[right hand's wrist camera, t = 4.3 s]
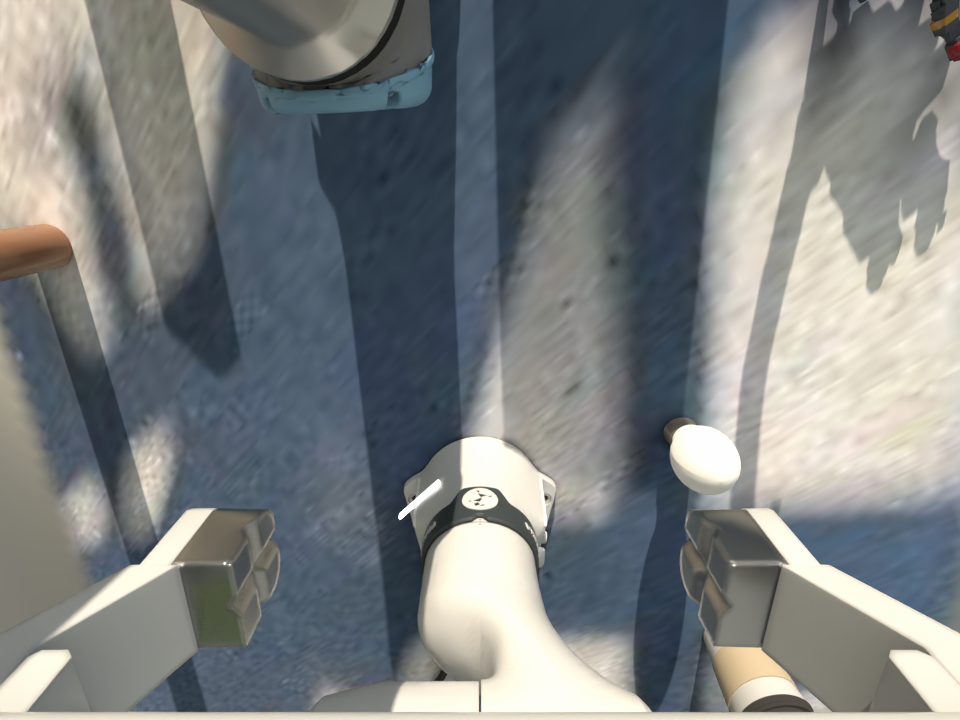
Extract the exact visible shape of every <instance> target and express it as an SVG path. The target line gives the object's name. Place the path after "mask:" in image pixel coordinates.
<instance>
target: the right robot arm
mask: <svg viewBox="0 0 960 720" xmlns="http://www.w3.org/2000/svg"><path fill="white" fill-rule="evenodd" d="M404 495H405V498H406V501H407V505H408V506H407V507H406V508H405V509H404V510H403V511H402V512H400V513H399V519H400V520H401V519H402V518H403V517H404V516H405V515H406V514H407V513H409V512H410V515H411V519H412V522H413V527H414V529H415V533H416V536H417V539H418V543H419V546H420V550H421V569H422V574H423V580H422V587H421V594H420V602H419V609H418V617H417V622H418V630H419V634H420V637H421V640H422V642H423V644H424V646H425V648H426V649H427V651H428V653H429V654H430V656H431V657H432V659H433V660H434V662H435V663H436V664H437V665H438V666H439V667H440V668H441V669H442V670H441V672H440V674H439V675H438V677H437V678H436V680H435V681H387V682H382V683H377V684H372V685H367V686H362V687H358V688H354V689H350V690H346V691H342V692H338V693H334V694H330V695H326V696H324V697H323V698H322V699H320V700H319V701H318V702H317V703H316V704H315V705H314V706H313V708H312V709H311V710H310V711H309V712H128V711H129V710H130V709H131V708H132V707H134V706H135V705H136V704H137V703H138V702H139V701H141V700H142V699H143V698H144V697H145V696H146V695H148V694H149V693H150V692H151V691H152V690H153V689H154V688H156V687H157V686H158V685H159V684H160V683H161V682H163V681H164V680H165V679H166V678H167V677H168V676H169V675H171V674H172V673H173V672H174V671H175V670H176V669H178V668H179V667H180V666H181V665H182V664H183V663H185V662H186V661H187V660H188V659H189V658H190V657H191V656H193V655H194V654H195V653H196V652H197V651H198V650H199V649H198V648H207V647H240V646H247V645H248V643H249V641H250V639H251V637H252V635H253V633H254V631H255V629H256V627H257V625H258V622H259V620H260V618H261V610H260V605H261V604H262V603H264V602H265V601H266V600H268V599H269V598H270V597H271V596H272V594H273V591H274V589H275V587H276V585H277V580H278V575H279V571H280V553H279V547H278V546H277V545H276V544H275V543H274V542H273V541H272V539H271V538H270V537H271V535H272V533H273V531H274V529H275V523H274V518H273V513H272V512H270V511H269V510H268V509H228V508H218V509H216V508H193V509H190V510H187V511H186V512H185V513H184V514H183V515H182V516H181V517H180V519H179V520H178V521H177V522H176V523H175V524H174V525H173V527H172V528H171V529H170V530H169V531H168V532H167V534H166V535H165V536H164V537H163V538H162V539H161V541H160V542H159V543H158V544H157V545H156V546H155V548H154V549H153V550H152V551H151V552H150V553H149V554H148V556H147V557H146V558H145V559H144V560H143V561H142V563H141V564H140V565H130V566H128V567H126V568H124V569H122V570H120V571H119V572H117V573H115V574H113V575H111V576H109V577H107V578H105V579H103V580H101V581H99V582H98V583H96V584H94V585H92V586H90V587H88V588H86V589H84V590H82V591H80V592H78V593H76V594H75V595H73V596H71V597H69V598H67V599H65V600H63V601H61V602H59V603H57V604H56V605H54V606H52V607H50V608H48V609H46V610H44V611H42V612H40V613H38V614H36V615H35V616H33V617H31V618H29V619H27V620H25V621H23V622H21V623H19V624H17V625H15V626H14V627H12V628H10V629H8V630H6V631H4V632H2V633H0V720H960V633H958V632H956V631H954V630H952V629H950V628H948V627H946V626H944V625H942V624H941V623H939V622H937V621H935V620H933V619H931V618H929V617H927V616H925V615H923V614H921V613H920V612H918V611H916V610H914V609H912V608H910V607H908V606H906V605H904V604H902V603H901V602H899V601H897V600H895V599H893V598H891V597H889V596H887V595H885V594H883V593H881V592H880V591H878V590H876V589H874V588H872V587H870V586H868V585H866V584H864V583H862V582H860V581H859V580H857V579H855V578H853V577H851V576H849V575H847V574H845V573H843V572H841V571H840V570H838V569H836V568H834V567H832V566H830V565H820V564H819V563H818V561H817V560H816V559H815V558H814V557H813V556H812V554H811V553H810V552H809V551H808V550H807V549H806V548H805V546H804V545H803V544H802V543H801V542H800V541H799V539H798V538H797V537H796V536H795V535H794V534H793V532H792V531H791V530H790V529H789V528H788V527H787V526H786V524H785V523H784V522H783V521H782V520H781V519H780V517H779V516H778V515H777V514H776V513H775V512H774V511H773V510H771V509H769V508H748V509H736V510H690V511H689V513H688V515H687V517H686V522H685V529H686V531H687V533H688V535H689V537H690V538H689V539H688V541H687V542H686V543H685V544H684V545H683V546H682V547H681V555H680V569H681V577H682V580H683V584H684V587H685V589H686V591H687V594H688V596H689V597H690V598H691V599H692V600H694V601H695V602H696V603H698V604H699V605H700V610H699V618H700V620H701V622H702V624H703V627H704V629H705V631H706V633H707V635H708V637H709V639H710V641H711V643H712V645H713V646H718V647H753V648H762V649H761V650H762V651H763V652H764V653H765V654H766V655H768V656H769V657H770V658H771V659H772V660H773V661H775V662H776V663H777V664H778V665H779V666H780V667H781V668H783V669H784V670H785V671H786V672H787V673H788V674H790V675H791V676H792V677H793V678H794V679H795V680H796V681H798V682H799V683H800V684H801V685H802V686H803V687H805V688H806V689H807V690H808V691H809V692H810V693H812V694H813V695H814V696H815V697H816V698H817V699H818V700H820V701H821V702H822V703H823V704H824V705H825V706H827V707H828V708H829V709H830V710H831V711H832V712H652V711H651V710H650V708H649V707H648V706H647V705H646V704H645V703H644V702H643V701H642V700H641V699H640V698H639V697H638V696H637V695H635V694H633V693H631V692H629V691H627V690H626V689H624V688H622V687H620V686H618V685H616V684H614V683H613V682H611V681H609V680H608V679H606V678H605V677H603V676H602V675H600V674H599V673H597V672H596V671H595V670H593V669H592V668H591V667H590V666H588V665H587V664H586V663H585V662H584V661H583V660H581V659H580V658H579V657H578V656H577V655H576V654H575V653H574V652H573V651H572V650H571V649H570V648H569V647H568V646H567V644H566V643H565V642H564V641H563V640H562V639H561V637H560V636H559V635H558V634H557V632H556V631H555V629H554V628H553V626H552V625H551V623H550V621H549V619H548V617H547V615H546V612H545V609H544V605H543V601H542V597H541V593H540V589H539V584H538V578H537V574H538V569H539V567H543V565H544V560H545V550H544V548H543V547H540V546H541V543H542V544H543V543H544V544H545V543H546V541H547V532H546V531H545V529H546V527H547V522H548V519H549V515H550V512H551V508H552V505H553V502H554V498H555V495H556V484H555V482H554V481H553V480H552V479H550V478H549V477H547V476H546V475H544V474H542V473H540V472H539V471H538V470H537V469H536V468H535V467H534V466H533V464H532V463H531V462H530V460H529V459H528V458H527V457H526V455H525V454H524V453H523V452H521V451H520V450H519V449H518V448H516V447H515V446H513V445H511V444H509V443H507V442H505V441H502V440H499V439H495V438H490V437H470V438H465V439H461V440H458V441H455V442H453V443H451V444H449V445H447V446H445V447H444V448H442V449H441V450H440V451H439V452H438V453H436V454H435V455H434V457H433V458H432V459H431V460H430V462H429V463H428V464H427V466H426V467H425V468H424V469H423V470H422V471H421V472H420V473H418V474H416V475H414V476H413V477H411V478H410V479H408V480H407V481H406V482H405V484H404ZM415 495H416V498H414V497H413V496H415ZM544 495H545V496H547V497H546V498H544ZM447 674H448V675H449V676H451V677H452V678H454V679H456V680H457V681H443V680H444V679H445V677H446V675H447ZM479 695H480V696H481V712H479Z"/></svg>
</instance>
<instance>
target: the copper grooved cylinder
mask: <svg viewBox="0 0 960 720" xmlns="http://www.w3.org/2000/svg"><path fill="white" fill-rule="evenodd" d="M71 256H72V247H71V244H70V242H69V240H68V238H67V237H66V235H65V234H64V233H63V232H62V231H60V230H59V229H58V228H56V227H54V226H51V225H48V224H38V225H31V226H23V227H15V228H8V229H0V282H2V281H6V280H10V279H14V278H18V277H23V276H27V275H31V274H35V273H39V272H43V271H47V270H52V269H56V268H60V267H63V266H65V265H66V264H67V263H68V262H69V261H70V259H71Z"/></svg>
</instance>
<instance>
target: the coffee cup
mask: <svg viewBox="0 0 960 720" xmlns="http://www.w3.org/2000/svg"><path fill="white" fill-rule="evenodd" d="M703 639H704V642H705V645H706V647H707V650H708V653H709V655H710V658H711V661H712V665H713V669H714V672H715V675H716V677H717V680H718V683H719V685H720V688H721V691H722V693H723V696H724V698H725V701H726V704H727V706H728V709H729V712H814V711H813V709H812V707H811V705H810V704H809V703H808V702H807V701H805V700H804V699H803V697H802V696H801V694H800V693H799V690H798V688H797V687H796V685H795V684H794V682H793V681H792V679H791V678H790V677H789V675H788V674H787V672H786V671H785V670H784V669H783V668H781V667H780V666H779V665H778V664H777V663H776V662H775V661H773V660H772V659H771V658H770V657H769V656H768V655H766V654H765V653H764V652H763V651H762V650H761V649H762V648H753V647H718V646H713V645H712V643H711V641H710V639H709V637H708V635H707V633H706V631H704V635H703Z"/></svg>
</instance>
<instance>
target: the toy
mask: <svg viewBox="0 0 960 720" xmlns="http://www.w3.org/2000/svg"><path fill="white" fill-rule="evenodd" d="M858 1H859V3H862V2H865V1H866V0H858ZM958 7H959V0H932V3H931V4H930V8H931V12H932V13H931V16H932V24H930V27H931V29H932V31H933V34H934V36H935V37H936V36H941V37H942V38H944V39H945V41H946V43H947V44H946V45H945V50H946V53H947V55H948V58H949V61H952V60H953V61H954V62H955V61H959V60H960V21H959V8H958Z"/></svg>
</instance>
